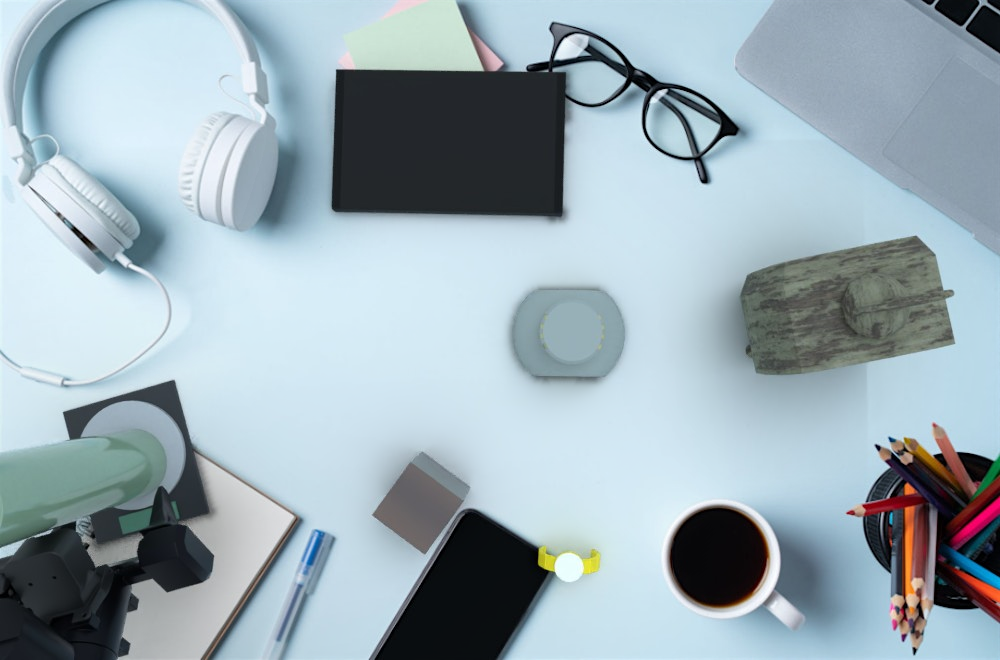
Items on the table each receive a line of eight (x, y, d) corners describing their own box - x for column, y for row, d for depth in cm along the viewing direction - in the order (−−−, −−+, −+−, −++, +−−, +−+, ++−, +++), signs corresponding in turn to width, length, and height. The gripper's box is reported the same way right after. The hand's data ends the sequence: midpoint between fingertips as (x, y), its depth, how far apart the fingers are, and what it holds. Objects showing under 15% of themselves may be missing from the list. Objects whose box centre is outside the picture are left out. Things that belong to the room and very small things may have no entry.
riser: (436, 532, 80) (424, 554, 71) (389, 497, 80) (371, 515, 71) (471, 484, 80) (463, 501, 71) (424, 449, 80) (410, 461, 71)
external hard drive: (343, 78, 82) (336, 68, 79) (565, 81, 81) (566, 71, 78) (338, 214, 81) (331, 208, 78) (562, 218, 80) (563, 213, 77)
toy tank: (733, 372, 79) (826, 379, 54) (715, 284, 79) (799, 251, 54) (876, 344, 78) (1036, 338, 54) (857, 256, 79) (1007, 210, 54)
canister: (180, 456, 79) (8, 506, 53) (138, 512, 79) (-55, 589, 53) (127, 414, 79) (-71, 443, 53) (85, 469, 79) (-133, 525, 53)
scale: (215, 509, 81) (206, 514, 78) (105, 541, 81) (93, 546, 79) (180, 379, 81) (170, 379, 79) (71, 410, 82) (58, 412, 79)
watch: (598, 539, 79) (603, 555, 73) (596, 567, 79) (602, 584, 73) (539, 535, 79) (539, 550, 73) (537, 563, 79) (537, 580, 73)
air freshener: (621, 294, 80) (634, 285, 70) (620, 375, 79) (633, 378, 69) (514, 293, 80) (512, 284, 70) (513, 374, 80) (510, 376, 70)
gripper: (134, 579, 57) (166, 421, 69) (-105, 646, 58) (-33, 479, 69) (206, 645, 65) (225, 493, 76) (-6, 704, 65) (44, 544, 77)
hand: (117, 501), depth 74 cm, fingers open, 9 cm apart
